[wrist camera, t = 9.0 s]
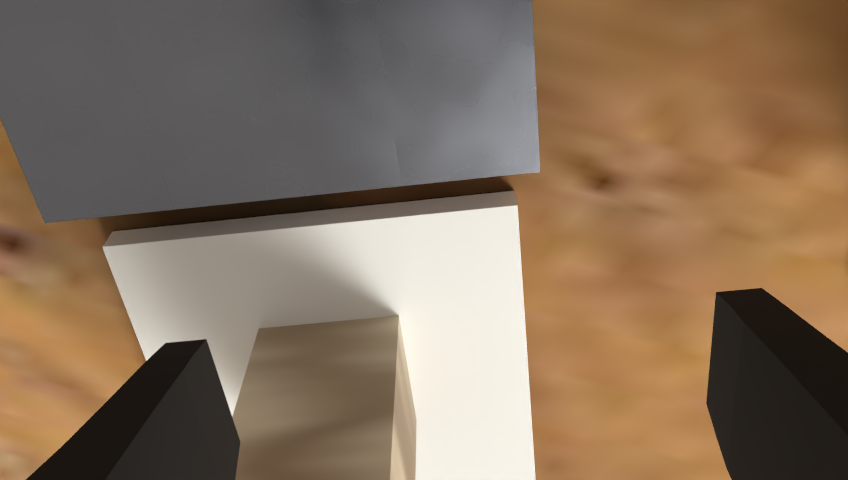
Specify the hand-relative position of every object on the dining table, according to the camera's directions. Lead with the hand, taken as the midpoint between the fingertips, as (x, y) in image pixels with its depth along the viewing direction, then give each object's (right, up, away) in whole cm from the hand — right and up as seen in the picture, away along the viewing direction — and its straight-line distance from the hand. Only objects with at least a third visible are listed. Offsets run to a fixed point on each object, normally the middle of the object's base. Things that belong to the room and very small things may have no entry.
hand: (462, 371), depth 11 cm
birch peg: (-3, -2, +12) cm, 13 cm away
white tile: (-3, -2, +13) cm, 13 cm away
